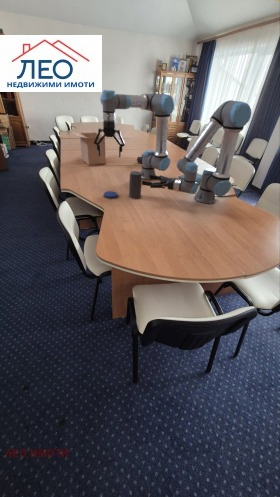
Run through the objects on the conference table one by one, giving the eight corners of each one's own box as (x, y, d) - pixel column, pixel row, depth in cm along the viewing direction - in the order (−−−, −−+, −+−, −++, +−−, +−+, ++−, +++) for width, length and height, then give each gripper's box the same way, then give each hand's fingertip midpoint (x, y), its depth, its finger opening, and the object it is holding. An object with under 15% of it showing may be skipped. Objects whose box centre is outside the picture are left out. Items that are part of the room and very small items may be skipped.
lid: (111, 192, 173) (111, 190, 172) (119, 196, 167) (119, 194, 166) (101, 195, 167) (101, 193, 166) (109, 199, 161) (109, 197, 160)
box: (116, 165, 229) (116, 136, 213) (83, 168, 214) (80, 137, 198) (102, 154, 259) (101, 128, 243) (71, 156, 244) (68, 129, 228)
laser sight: (156, 166, 236) (157, 156, 230) (135, 163, 239) (136, 153, 233) (157, 163, 244) (158, 154, 238) (137, 161, 247) (138, 151, 241)
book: (191, 177, 214) (192, 171, 211) (206, 182, 205) (207, 176, 202) (177, 181, 200) (178, 176, 197) (192, 187, 191) (193, 181, 188)
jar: (129, 198, 165) (129, 174, 155) (129, 193, 172) (129, 170, 162) (140, 198, 166) (142, 175, 155) (140, 194, 173) (141, 171, 163)
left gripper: (87, 119, 134) (90, 156, 147) (128, 122, 135) (127, 158, 147) (90, 118, 140) (92, 153, 153) (129, 121, 141) (128, 156, 153)
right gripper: (168, 196, 144) (138, 190, 151) (178, 184, 162) (152, 179, 169) (169, 185, 139) (139, 179, 146) (180, 174, 158) (152, 169, 164)
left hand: (109, 156), depth 150 cm, fingers open, 13 cm apart
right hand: (145, 179), depth 157 cm, fingers open, 13 cm apart
